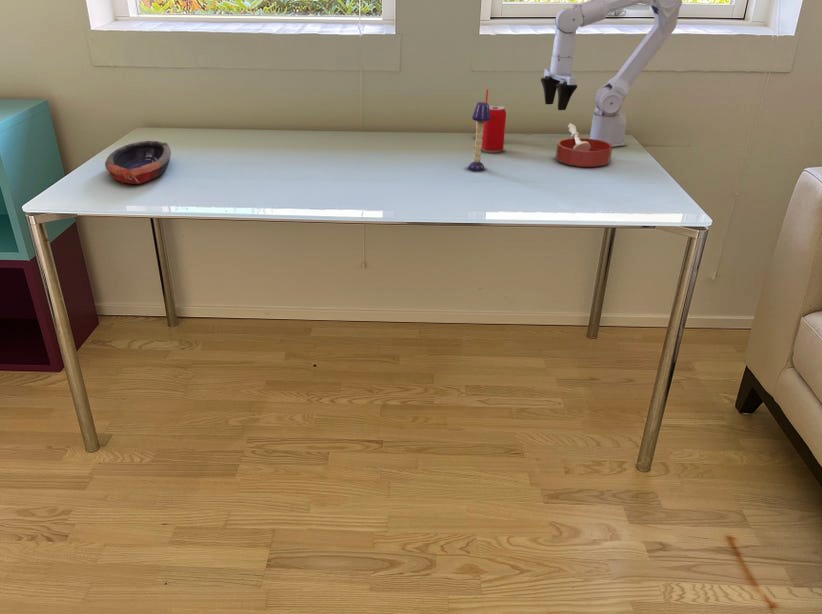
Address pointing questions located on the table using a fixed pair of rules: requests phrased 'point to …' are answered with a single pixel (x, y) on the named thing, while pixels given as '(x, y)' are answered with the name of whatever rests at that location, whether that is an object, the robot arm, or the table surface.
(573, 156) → the bowl
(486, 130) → the beverage can
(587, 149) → the chess piece
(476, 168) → the toy lamp
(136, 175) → the dish
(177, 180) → the table surface
